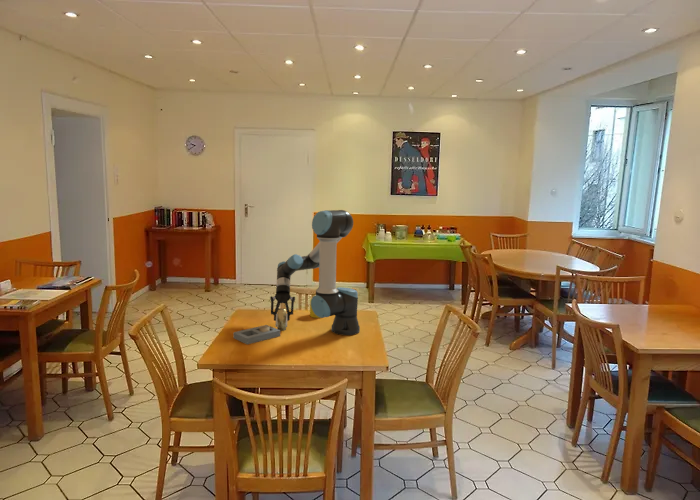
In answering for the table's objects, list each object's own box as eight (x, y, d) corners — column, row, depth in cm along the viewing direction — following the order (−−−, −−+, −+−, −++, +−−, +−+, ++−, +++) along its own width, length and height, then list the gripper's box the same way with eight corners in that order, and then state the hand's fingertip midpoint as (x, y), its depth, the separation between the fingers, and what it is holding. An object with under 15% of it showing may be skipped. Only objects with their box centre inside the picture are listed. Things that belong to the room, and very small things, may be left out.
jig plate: (280, 336, 259) (280, 330, 258) (247, 344, 245) (247, 338, 244) (266, 330, 267) (266, 324, 267) (233, 338, 253) (233, 332, 253)
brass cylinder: (287, 329, 269) (287, 309, 268) (280, 331, 266) (281, 311, 264) (282, 327, 272) (282, 307, 271) (275, 329, 269) (275, 309, 268)
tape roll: (317, 312, 304) (317, 296, 303) (330, 315, 299) (330, 299, 297) (306, 315, 296) (306, 300, 295) (319, 319, 291) (320, 303, 289)
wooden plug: (271, 335, 259) (271, 327, 258) (263, 337, 255) (263, 329, 255) (265, 332, 263) (265, 324, 262) (257, 334, 259) (257, 326, 258)
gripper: (299, 291, 283) (298, 329, 269) (267, 291, 281) (264, 329, 267) (299, 284, 276) (298, 322, 263) (266, 283, 275) (264, 322, 261)
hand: (281, 325), depth 265 cm, fingers closed on brass cylinder, 4 cm apart
